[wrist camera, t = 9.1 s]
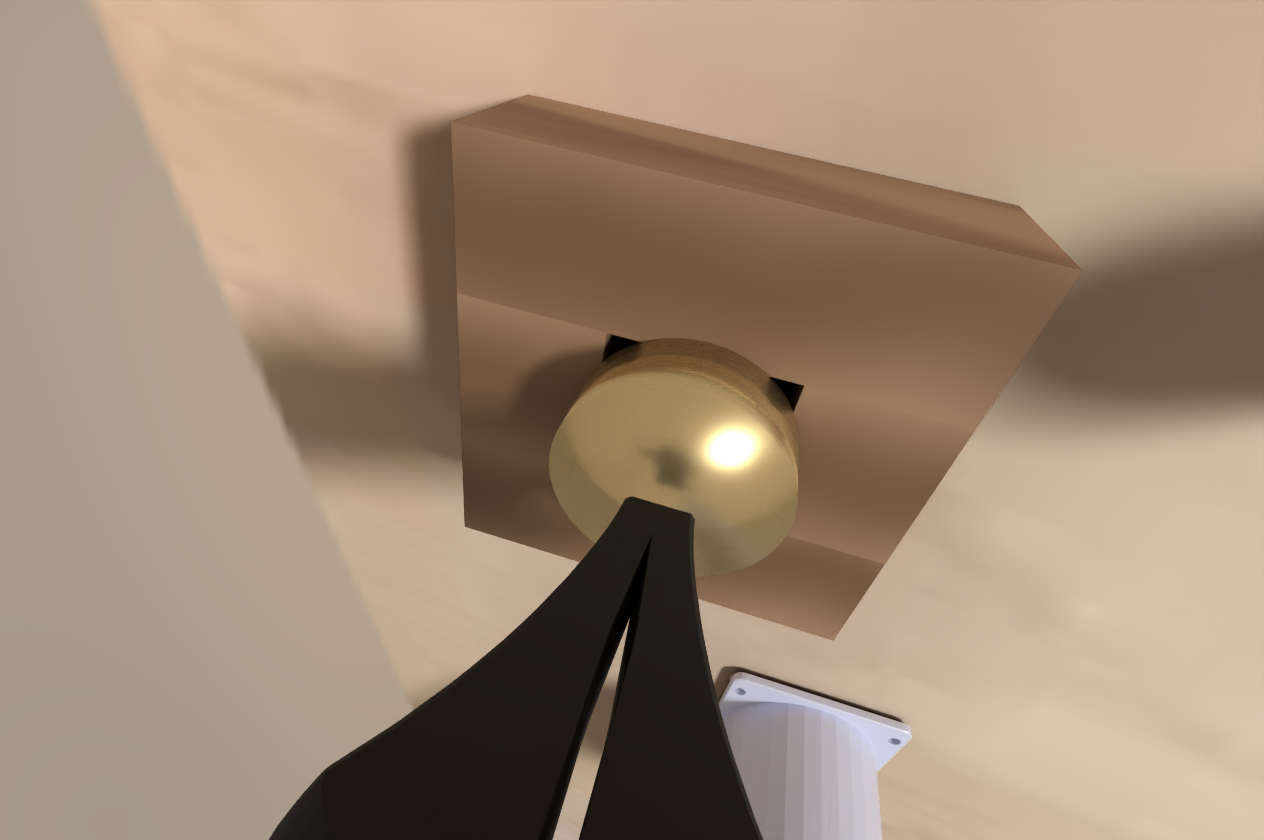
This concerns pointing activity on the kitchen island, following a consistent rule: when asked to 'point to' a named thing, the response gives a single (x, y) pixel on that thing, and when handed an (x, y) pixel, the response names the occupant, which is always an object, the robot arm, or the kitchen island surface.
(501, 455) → the walnut block
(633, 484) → the brass pin
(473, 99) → the kitchen island surface
